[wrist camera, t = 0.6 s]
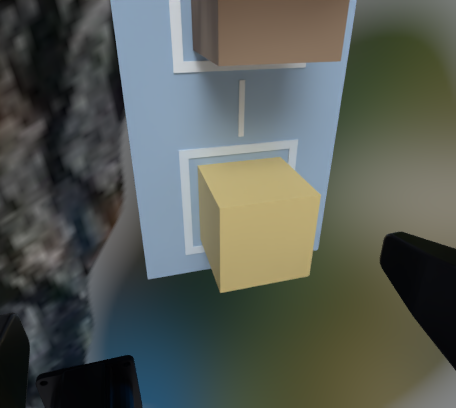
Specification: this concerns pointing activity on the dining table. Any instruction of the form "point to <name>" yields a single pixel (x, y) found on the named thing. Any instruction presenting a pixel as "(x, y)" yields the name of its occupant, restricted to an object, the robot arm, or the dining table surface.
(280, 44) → the walnut cube
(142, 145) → the blueprint sheet
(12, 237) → the dining table surface
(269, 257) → the ochre block
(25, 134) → the dining table surface
